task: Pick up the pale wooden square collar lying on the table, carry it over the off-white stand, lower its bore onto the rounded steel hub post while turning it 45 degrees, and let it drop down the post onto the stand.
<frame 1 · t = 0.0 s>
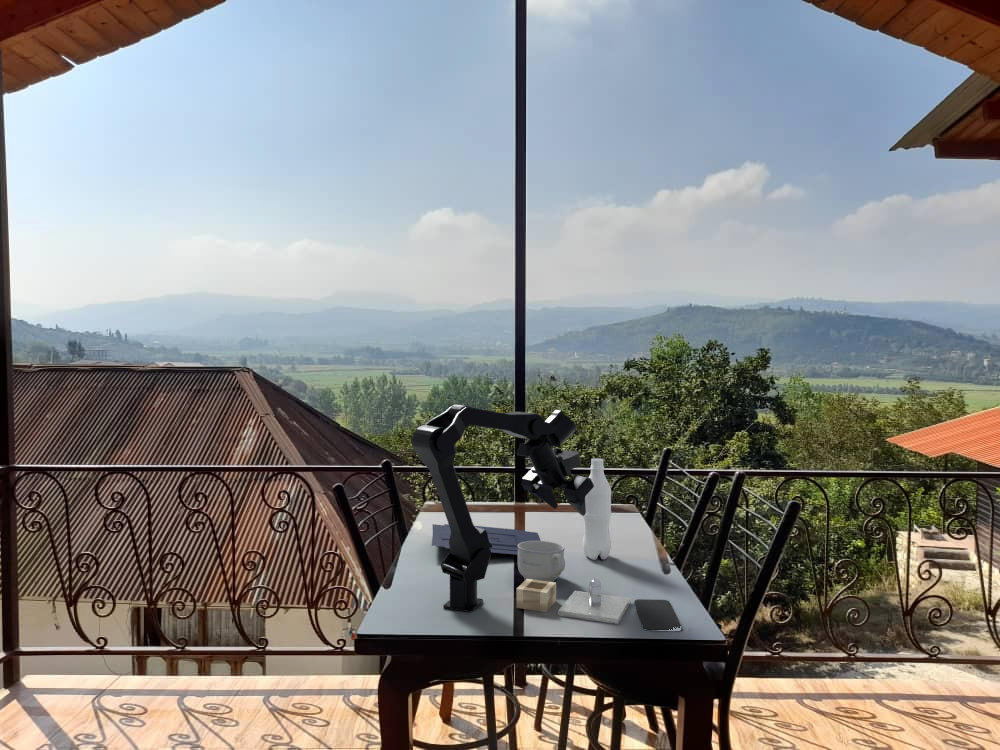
hand: (569, 510, 165), 15 cm above the table, fingers open, 9 cm apart
phone: (657, 618, 141), on the table
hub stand: (595, 608, 144), on the table
collar: (536, 604, 147), on the table
teacup: (543, 582, 161), on the table
water bottle: (596, 557, 179), on the table
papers: (488, 548, 187), on the table
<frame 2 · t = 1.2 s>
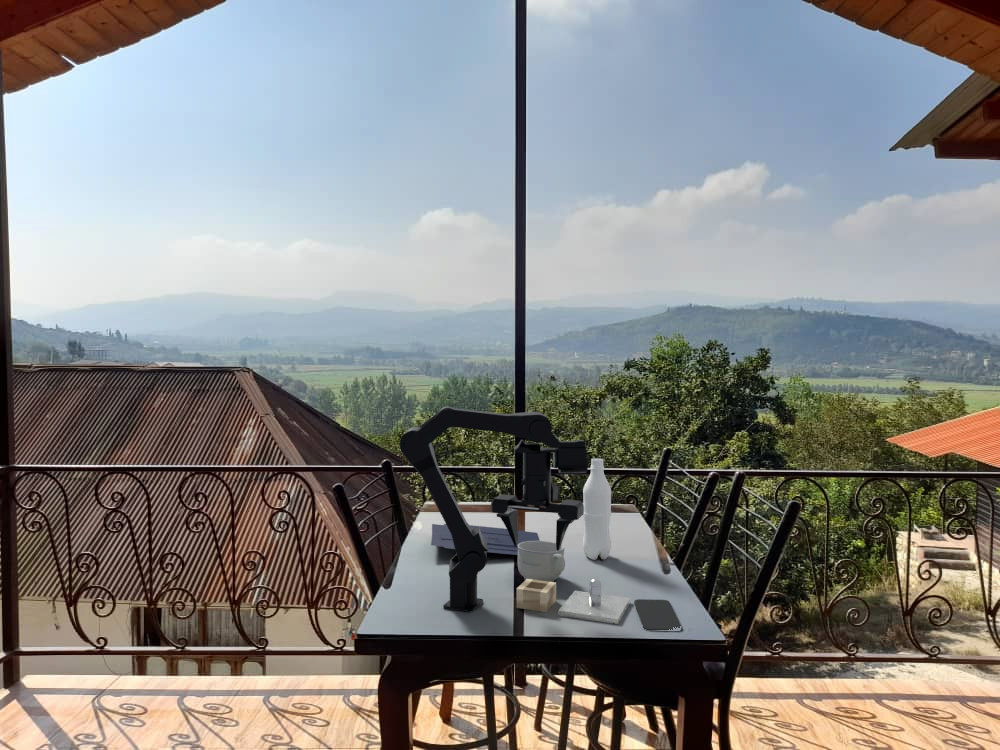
hand: (536, 547, 146), 12 cm above the table, fingers open, 9 cm apart
nothing on the table moved.
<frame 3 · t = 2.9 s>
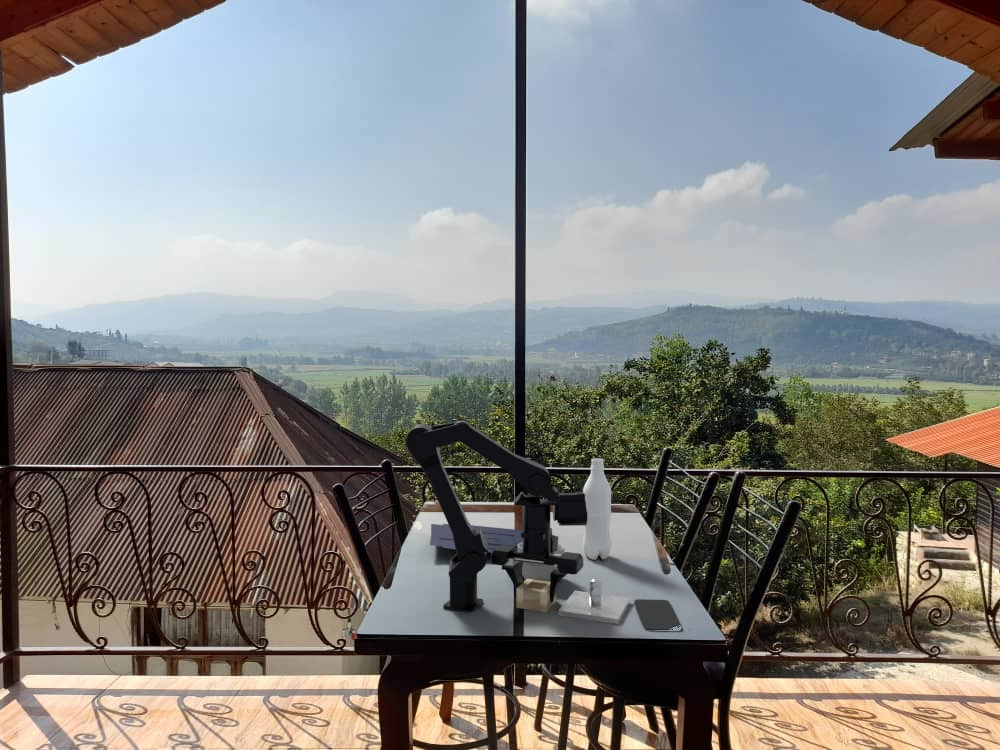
hand: (536, 599, 147), 1 cm above the table, fingers closed on collar, 6 cm apart
collar: (536, 604, 147), on the table, touching gripper
everything else where it was.
when the fingers open (5 cm above the table, at t = 7.4 s): collar drops 3 cm, resting on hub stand.
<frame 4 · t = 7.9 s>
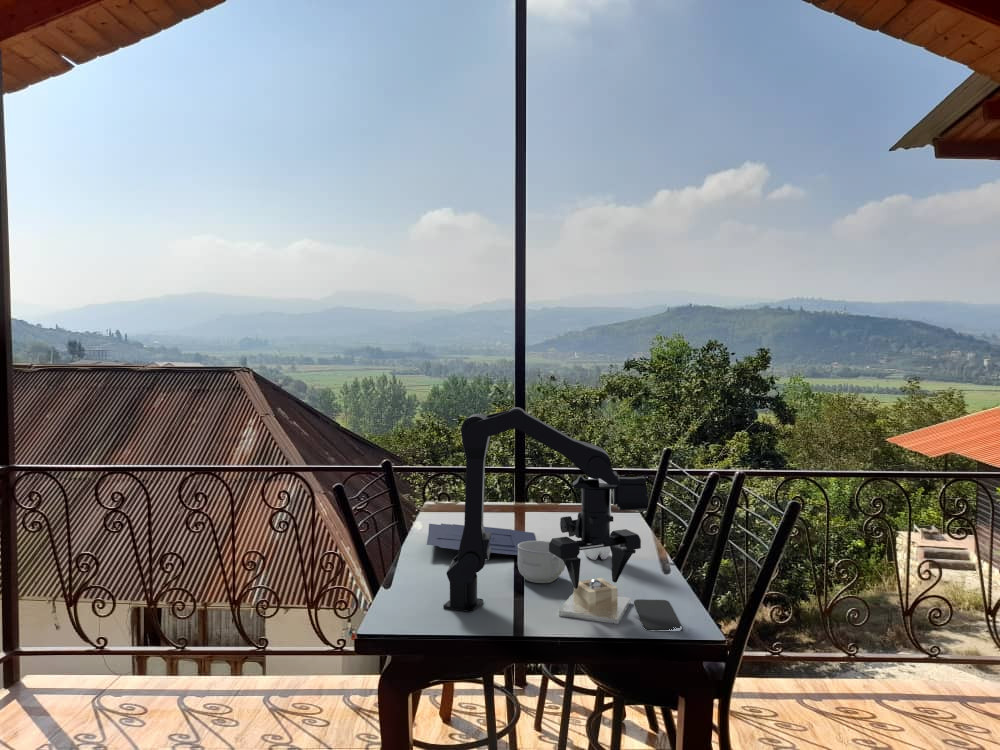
hand: (595, 585, 144), 5 cm above the table, fingers open, 9 cm apart
collar: (595, 604, 144), point 1 cm above the table, touching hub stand
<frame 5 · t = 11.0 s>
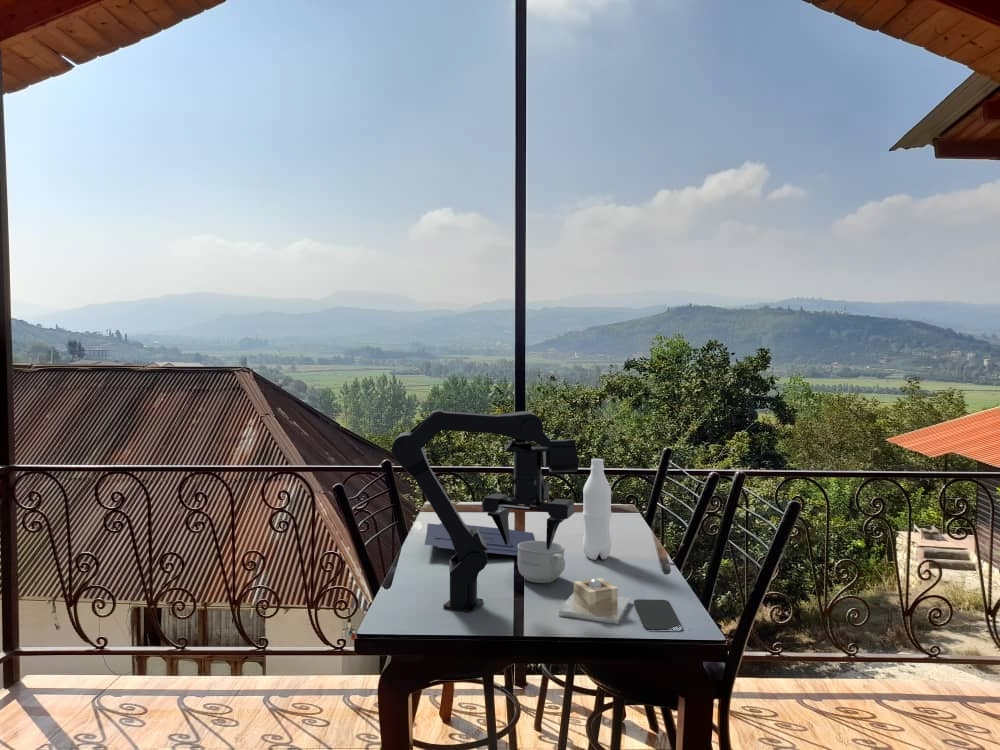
hand: (527, 546, 147), 12 cm above the table, fingers open, 9 cm apart
at the end: collar 0.0 cm off-centre on the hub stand, point 1.0 cm above the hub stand's base; the gripper is holding nothing; collar tilted 0° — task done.
